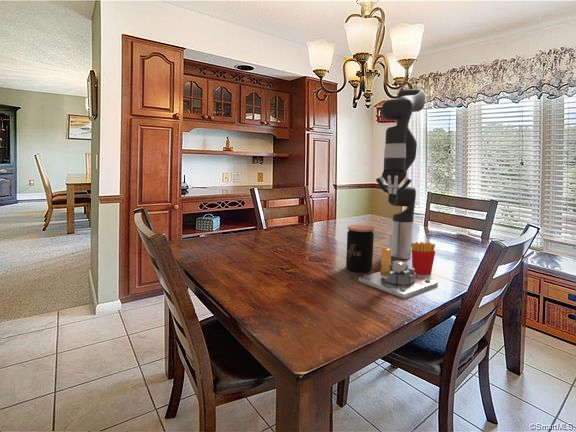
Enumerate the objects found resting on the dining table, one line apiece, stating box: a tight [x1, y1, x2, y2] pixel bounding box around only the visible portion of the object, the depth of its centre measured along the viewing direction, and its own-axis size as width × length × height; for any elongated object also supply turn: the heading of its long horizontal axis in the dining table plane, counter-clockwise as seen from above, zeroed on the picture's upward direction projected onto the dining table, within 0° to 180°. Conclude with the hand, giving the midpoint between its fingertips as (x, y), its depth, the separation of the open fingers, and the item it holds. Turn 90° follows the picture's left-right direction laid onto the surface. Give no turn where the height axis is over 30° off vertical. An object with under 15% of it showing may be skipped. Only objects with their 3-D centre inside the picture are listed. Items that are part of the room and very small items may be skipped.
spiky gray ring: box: [379, 247, 417, 285], centre depth 124 cm, size 17×11×13 cm, turn 136°
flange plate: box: [358, 260, 439, 299], centre depth 127 cm, size 20×20×8 cm
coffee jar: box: [345, 224, 375, 274], centre depth 143 cm, size 11×11×18 cm
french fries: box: [411, 241, 436, 276], centre depth 139 cm, size 9×4×13 cm, turn 86°
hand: (392, 203), depth 128 cm, fingers closed
